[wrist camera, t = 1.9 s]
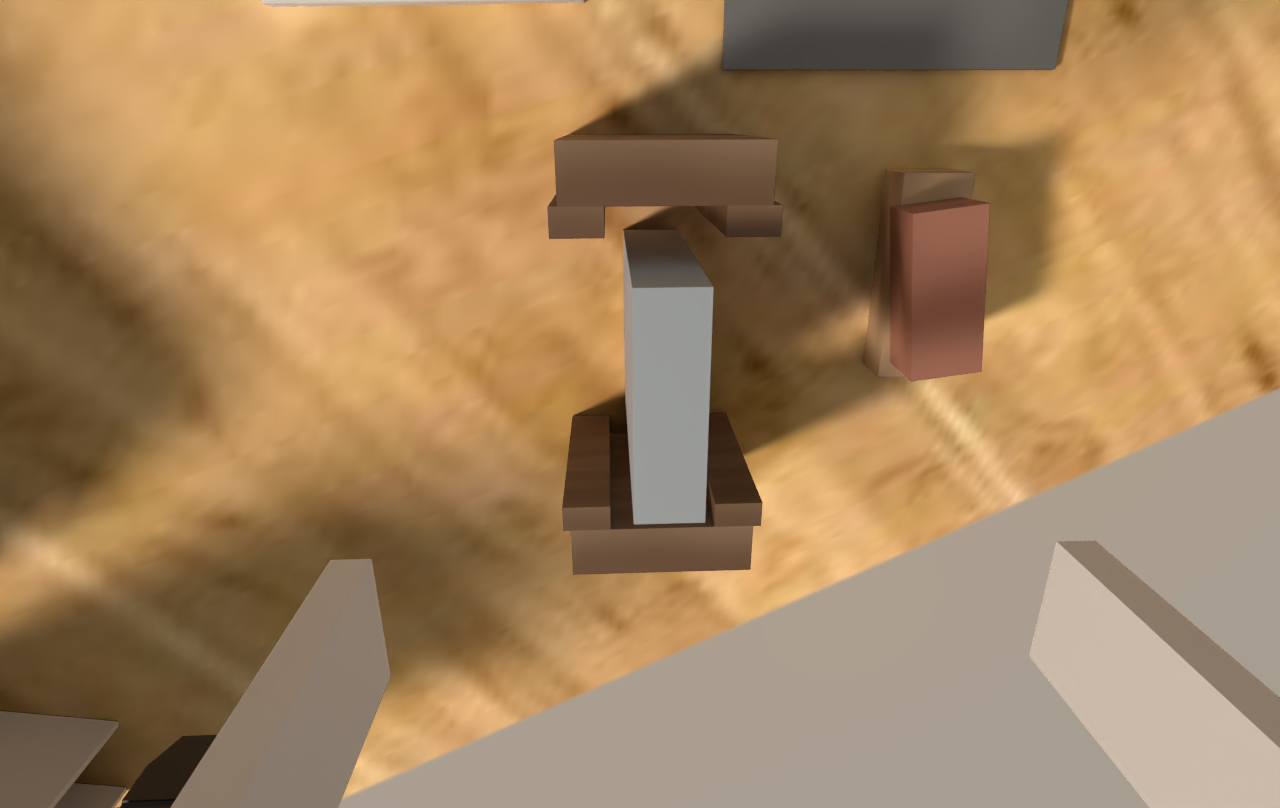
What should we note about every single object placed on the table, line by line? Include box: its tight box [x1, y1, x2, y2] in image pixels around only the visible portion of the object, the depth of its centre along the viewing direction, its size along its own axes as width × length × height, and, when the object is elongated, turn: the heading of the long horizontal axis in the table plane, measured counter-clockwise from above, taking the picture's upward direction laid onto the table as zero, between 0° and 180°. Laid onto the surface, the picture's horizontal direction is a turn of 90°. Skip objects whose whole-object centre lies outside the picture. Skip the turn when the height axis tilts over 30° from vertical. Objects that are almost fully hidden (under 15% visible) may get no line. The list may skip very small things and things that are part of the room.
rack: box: [548, 134, 783, 575], centre depth 29 cm, size 16×8×9 cm, turn 0°
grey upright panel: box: [623, 229, 714, 524], centre depth 28 cm, size 8×2×12 cm, turn 0°
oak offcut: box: [863, 170, 976, 377], centre depth 33 cm, size 9×3×2 cm, turn 0°
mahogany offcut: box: [890, 197, 990, 381], centre depth 30 cm, size 7×3×2 cm, turn 7°
